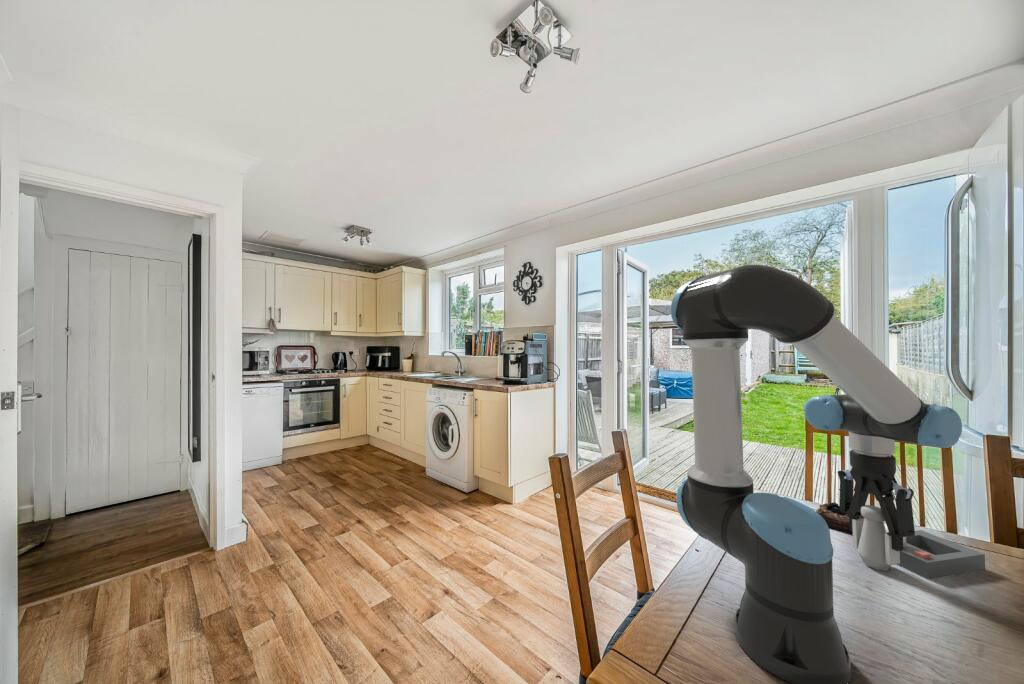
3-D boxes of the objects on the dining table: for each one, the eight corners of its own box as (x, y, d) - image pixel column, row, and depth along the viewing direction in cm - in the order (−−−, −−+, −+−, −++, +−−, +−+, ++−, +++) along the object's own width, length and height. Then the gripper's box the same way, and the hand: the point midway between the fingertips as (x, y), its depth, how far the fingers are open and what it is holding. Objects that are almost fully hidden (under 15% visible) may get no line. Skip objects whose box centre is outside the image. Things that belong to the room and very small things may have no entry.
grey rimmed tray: (927, 579, 78) (926, 543, 78) (869, 551, 89) (867, 520, 89) (985, 570, 81) (983, 535, 81) (921, 544, 91) (920, 513, 92)
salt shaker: (901, 574, 79) (899, 514, 80) (870, 572, 81) (868, 512, 81) (880, 559, 85) (878, 503, 85) (852, 557, 86) (849, 501, 87)
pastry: (870, 541, 94) (870, 518, 94) (811, 524, 103) (810, 503, 103) (876, 527, 101) (875, 505, 101) (820, 512, 110) (819, 493, 110)
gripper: (939, 463, 75) (944, 578, 74) (841, 441, 93) (845, 533, 93) (909, 466, 74) (914, 583, 73) (816, 442, 92) (820, 536, 92)
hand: (875, 554), depth 83 cm, fingers closed on salt shaker, 6 cm apart
